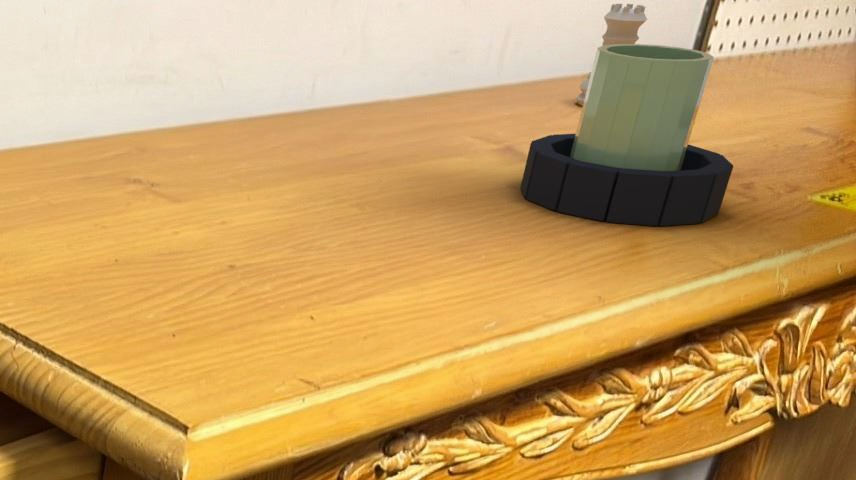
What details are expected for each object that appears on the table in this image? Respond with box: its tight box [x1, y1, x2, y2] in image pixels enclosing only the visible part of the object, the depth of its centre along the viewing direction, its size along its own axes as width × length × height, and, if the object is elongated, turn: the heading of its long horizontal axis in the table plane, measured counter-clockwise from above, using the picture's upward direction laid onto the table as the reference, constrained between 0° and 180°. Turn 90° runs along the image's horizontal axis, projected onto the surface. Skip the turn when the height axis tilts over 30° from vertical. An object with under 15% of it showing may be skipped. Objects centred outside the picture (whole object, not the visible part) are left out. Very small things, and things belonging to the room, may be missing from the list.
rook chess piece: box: [575, 3, 648, 107], centre depth 102 cm, size 4×4×8 cm
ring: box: [520, 133, 734, 227], centre depth 77 cm, size 11×11×3 cm
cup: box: [570, 43, 715, 171], centre depth 76 cm, size 6×6×9 cm
